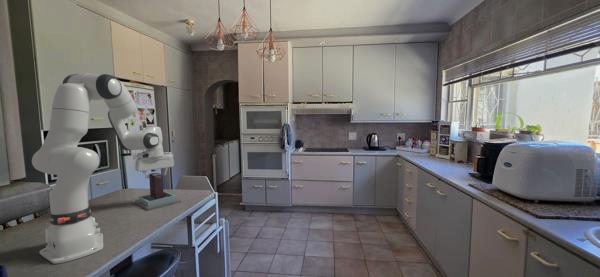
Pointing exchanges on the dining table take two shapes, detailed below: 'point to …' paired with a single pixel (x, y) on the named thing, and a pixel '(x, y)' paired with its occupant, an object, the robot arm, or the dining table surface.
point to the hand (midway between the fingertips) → (156, 176)
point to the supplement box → (156, 186)
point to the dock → (157, 201)
